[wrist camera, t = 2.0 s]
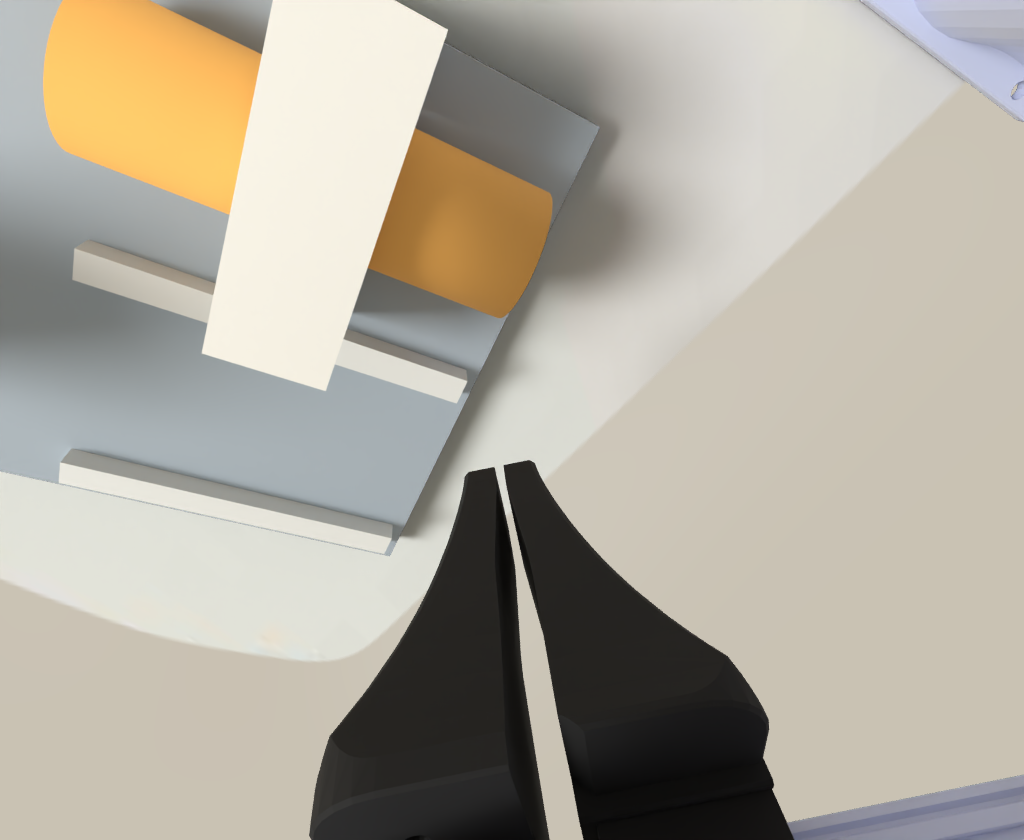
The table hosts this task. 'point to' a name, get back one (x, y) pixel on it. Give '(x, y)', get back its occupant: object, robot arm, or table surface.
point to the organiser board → (185, 312)
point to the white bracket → (316, 179)
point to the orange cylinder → (221, 134)
